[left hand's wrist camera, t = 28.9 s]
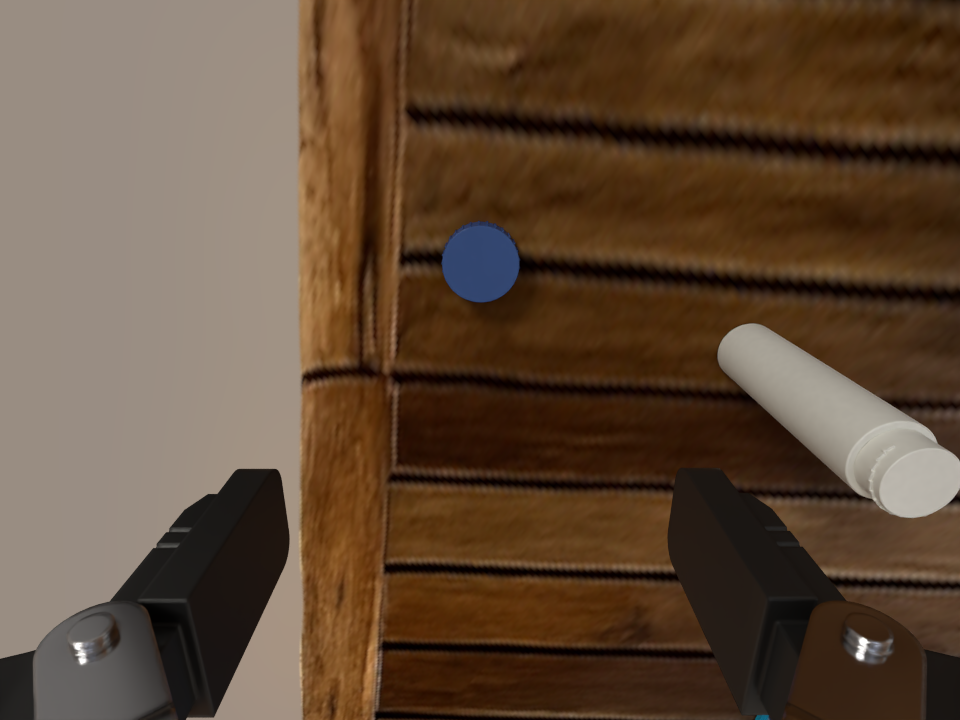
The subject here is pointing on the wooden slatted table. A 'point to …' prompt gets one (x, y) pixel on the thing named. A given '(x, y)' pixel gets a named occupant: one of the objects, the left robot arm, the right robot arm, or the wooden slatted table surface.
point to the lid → (480, 262)
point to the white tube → (843, 423)
